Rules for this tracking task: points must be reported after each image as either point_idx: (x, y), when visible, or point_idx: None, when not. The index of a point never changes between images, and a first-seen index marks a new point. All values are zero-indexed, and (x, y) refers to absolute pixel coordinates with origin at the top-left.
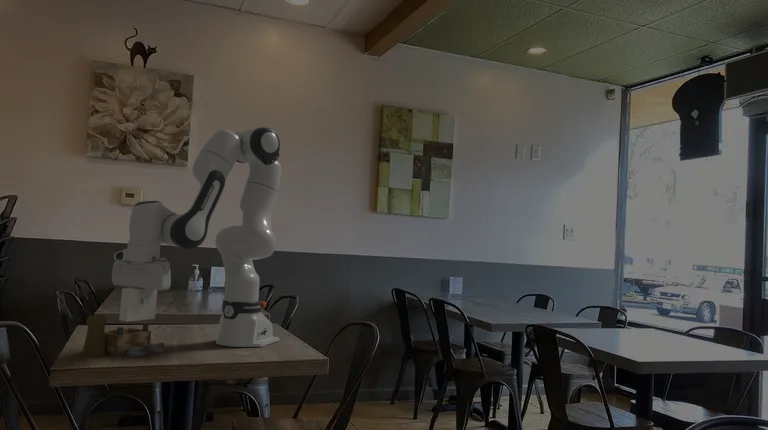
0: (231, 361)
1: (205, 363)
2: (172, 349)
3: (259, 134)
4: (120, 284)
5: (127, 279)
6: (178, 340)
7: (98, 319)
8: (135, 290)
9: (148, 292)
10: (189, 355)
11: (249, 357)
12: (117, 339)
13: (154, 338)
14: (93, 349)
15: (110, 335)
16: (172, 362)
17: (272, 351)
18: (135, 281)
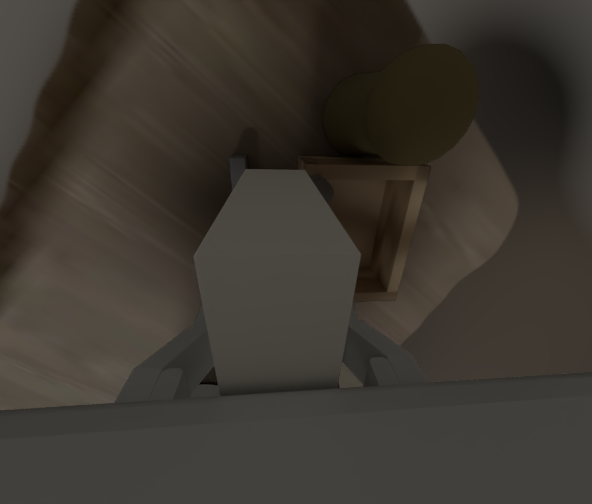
0: (16, 297)
1: (23, 240)
2: None
3: None
4: (538, 384)
5: (487, 483)
6: None
7: (388, 77)
8: (212, 325)
9: (134, 380)
10: (157, 283)
11: (46, 348)
12: (304, 163)
13: None
14: (344, 85)
15: (344, 164)
16: (91, 191)
17: None
18: (295, 478)
